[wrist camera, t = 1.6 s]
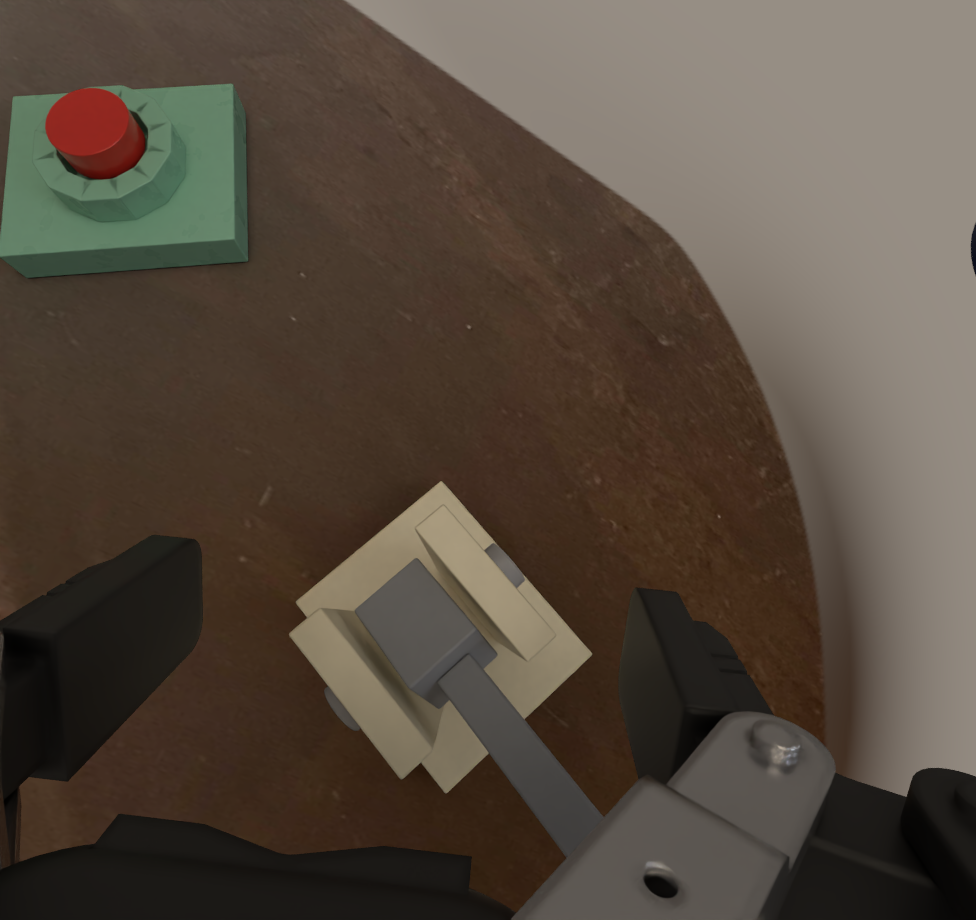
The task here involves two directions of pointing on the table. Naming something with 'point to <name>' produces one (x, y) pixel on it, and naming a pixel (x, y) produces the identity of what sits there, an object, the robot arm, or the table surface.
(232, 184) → the box
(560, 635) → the bracket
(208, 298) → the table surface
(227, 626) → the table surface
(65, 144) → the button
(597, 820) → the lever
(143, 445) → the table surface
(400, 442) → the table surface
